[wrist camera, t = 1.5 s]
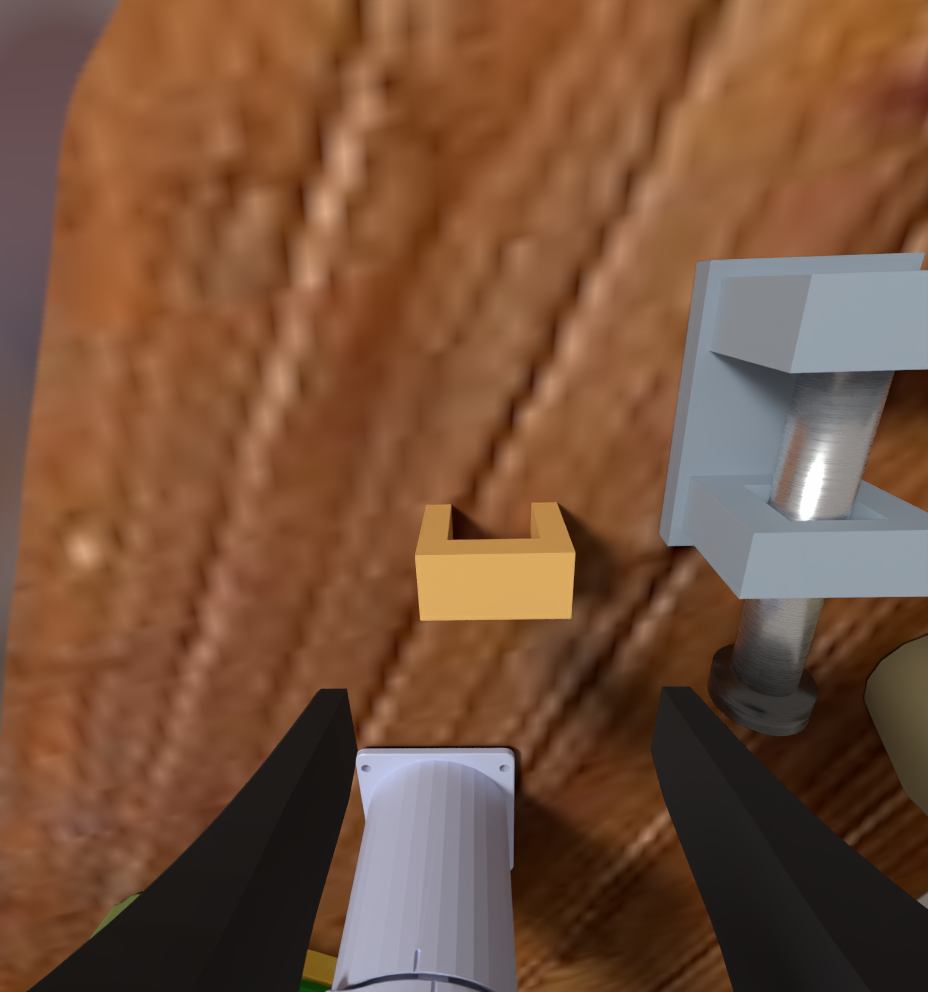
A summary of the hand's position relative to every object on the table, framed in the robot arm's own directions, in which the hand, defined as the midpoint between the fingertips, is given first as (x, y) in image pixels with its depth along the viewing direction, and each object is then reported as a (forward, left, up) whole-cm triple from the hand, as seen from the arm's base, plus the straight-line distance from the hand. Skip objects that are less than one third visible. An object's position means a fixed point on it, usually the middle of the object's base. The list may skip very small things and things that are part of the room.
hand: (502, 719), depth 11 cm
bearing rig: (+5, -10, -10) cm, 15 cm away
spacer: (0, 0, -10) cm, 10 cm away
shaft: (+1, -10, -8) cm, 13 cm away
